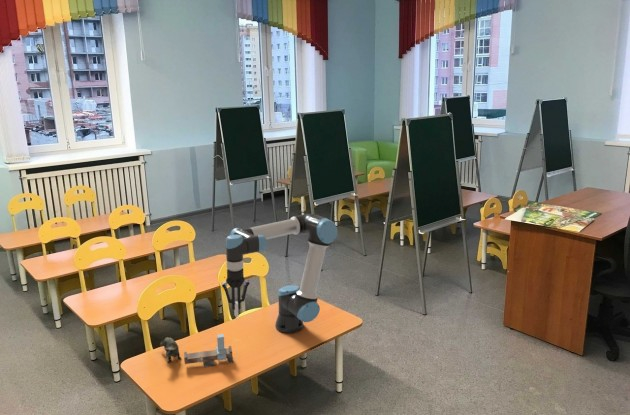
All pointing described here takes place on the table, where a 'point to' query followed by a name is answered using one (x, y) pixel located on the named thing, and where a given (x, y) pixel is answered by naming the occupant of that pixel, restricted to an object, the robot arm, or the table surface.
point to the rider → (220, 347)
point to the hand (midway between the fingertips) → (236, 315)
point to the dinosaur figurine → (170, 349)
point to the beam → (207, 357)
